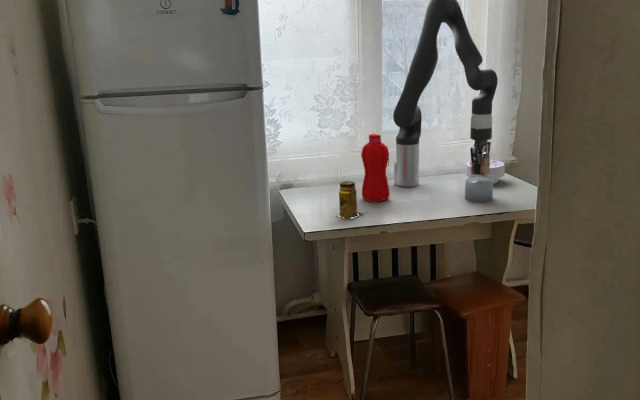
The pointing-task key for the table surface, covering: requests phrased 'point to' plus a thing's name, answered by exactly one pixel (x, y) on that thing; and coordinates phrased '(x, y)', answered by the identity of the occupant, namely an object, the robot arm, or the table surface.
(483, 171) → the walnut block
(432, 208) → the table surface
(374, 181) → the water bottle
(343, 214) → the condiment
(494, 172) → the paper bowls
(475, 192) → the slate canister
